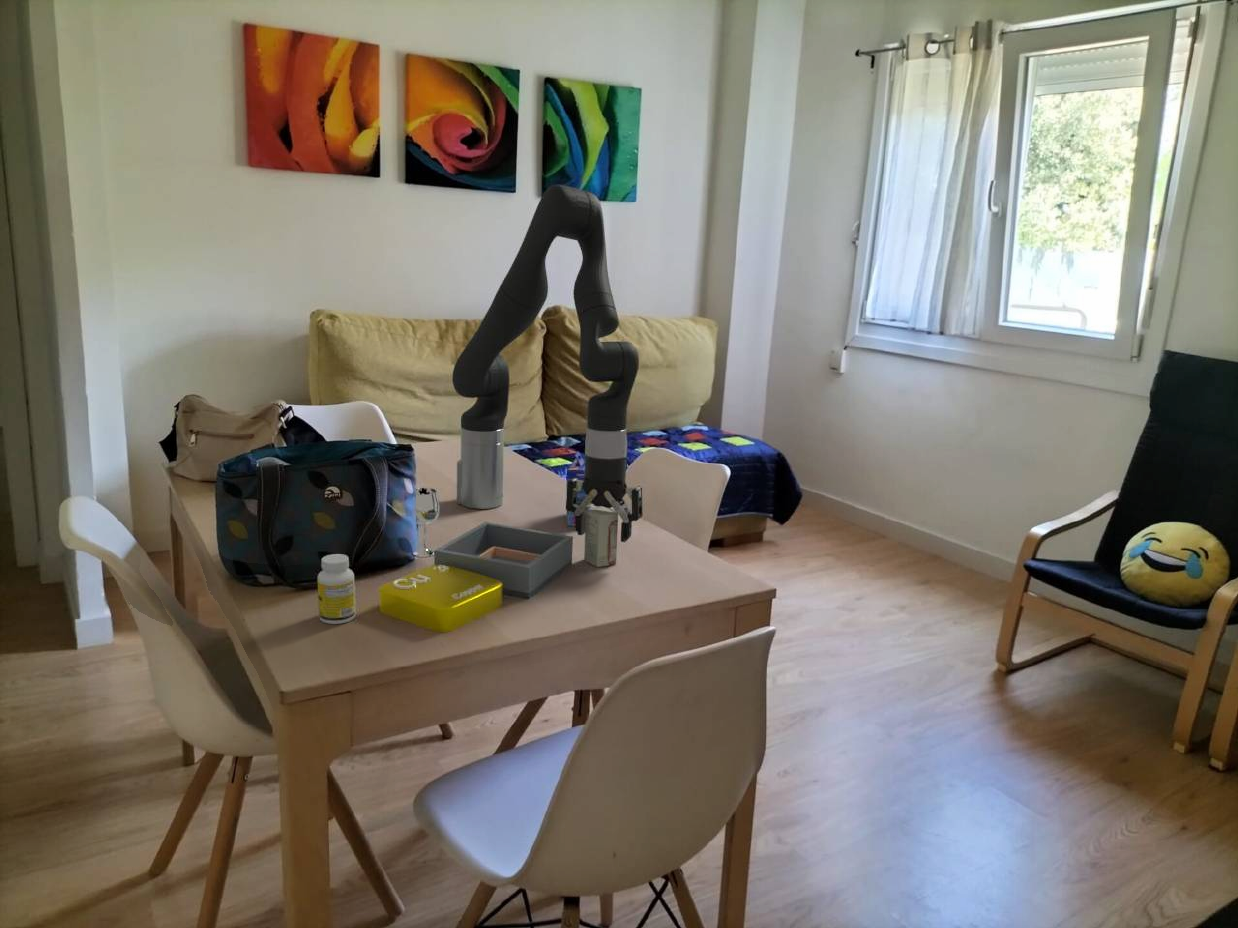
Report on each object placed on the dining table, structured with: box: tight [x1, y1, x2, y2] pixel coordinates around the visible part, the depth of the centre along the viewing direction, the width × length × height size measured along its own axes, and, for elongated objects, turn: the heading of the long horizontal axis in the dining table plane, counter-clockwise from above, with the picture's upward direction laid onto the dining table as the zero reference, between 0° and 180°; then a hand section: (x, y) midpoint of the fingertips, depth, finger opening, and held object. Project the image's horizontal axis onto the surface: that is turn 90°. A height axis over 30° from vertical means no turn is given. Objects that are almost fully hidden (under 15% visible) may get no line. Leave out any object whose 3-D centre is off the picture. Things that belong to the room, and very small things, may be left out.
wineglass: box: [415, 487, 441, 558], centre depth 171 cm, size 6×6×12 cm
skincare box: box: [583, 506, 619, 568], centre depth 171 cm, size 5×4×10 cm
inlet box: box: [433, 521, 574, 600], centre depth 164 cm, size 18×18×6 cm
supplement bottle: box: [317, 553, 356, 625], centre depth 142 cm, size 5×5×10 cm
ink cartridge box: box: [566, 451, 597, 527], centre depth 195 cm, size 10×6×14 cm, turn 172°
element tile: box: [378, 563, 504, 633], centre depth 149 cm, size 15×15×5 cm
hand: (602, 537), depth 171 cm, fingers open, 8 cm apart
